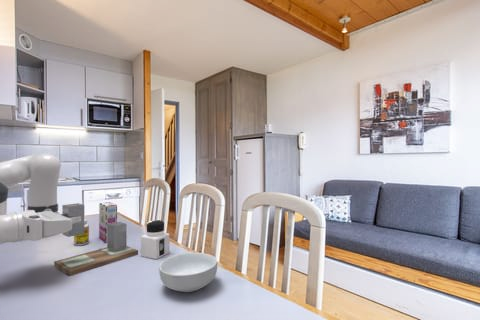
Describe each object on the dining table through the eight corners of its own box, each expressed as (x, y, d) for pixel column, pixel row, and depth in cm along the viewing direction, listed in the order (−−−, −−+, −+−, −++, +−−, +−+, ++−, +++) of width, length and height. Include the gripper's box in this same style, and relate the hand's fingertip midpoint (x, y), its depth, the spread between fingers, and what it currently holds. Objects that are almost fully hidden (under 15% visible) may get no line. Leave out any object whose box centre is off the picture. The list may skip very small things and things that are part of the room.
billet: (107, 249, 104) (107, 224, 104) (119, 246, 108) (119, 221, 108) (113, 252, 101) (113, 226, 101) (126, 249, 105) (126, 223, 105)
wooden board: (54, 265, 93) (54, 260, 93) (120, 247, 112) (120, 242, 112) (69, 276, 85) (69, 270, 85) (138, 254, 104) (138, 249, 104)
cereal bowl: (186, 269, 91) (186, 248, 91) (227, 281, 83) (228, 258, 83) (146, 290, 76) (146, 266, 76) (191, 307, 68) (191, 280, 68)
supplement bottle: (74, 246, 113) (74, 222, 112) (73, 243, 117) (73, 219, 117) (89, 244, 116) (89, 220, 116) (88, 240, 120) (88, 218, 120)
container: (169, 252, 106) (170, 220, 106) (156, 259, 99) (156, 224, 99) (154, 249, 109) (154, 218, 109) (140, 256, 102) (140, 222, 102)
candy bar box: (117, 241, 120) (117, 204, 120) (105, 243, 117) (105, 206, 117) (110, 235, 128) (110, 201, 128) (98, 237, 125) (98, 202, 125)
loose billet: (62, 234, 92) (62, 205, 92) (78, 231, 96) (78, 203, 96) (68, 236, 89) (68, 206, 89) (84, 233, 93) (84, 204, 93)
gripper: (17, 229, 89) (64, 221, 100) (37, 242, 76) (89, 231, 87) (17, 210, 89) (64, 204, 100) (37, 219, 76) (89, 212, 87)
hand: (76, 217), depth 93 cm, fingers closed on loose billet, 5 cm apart
